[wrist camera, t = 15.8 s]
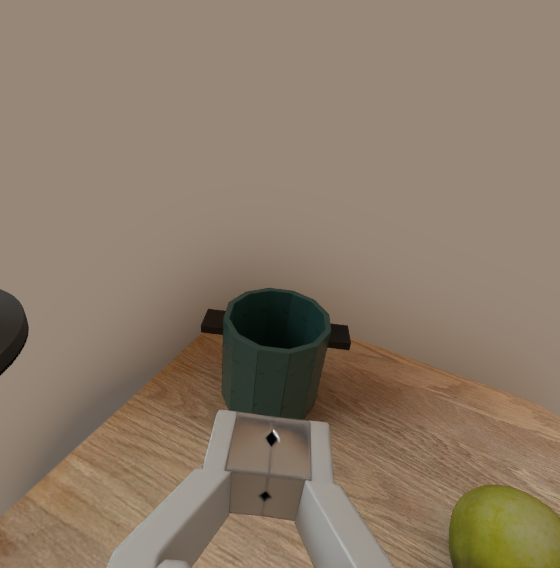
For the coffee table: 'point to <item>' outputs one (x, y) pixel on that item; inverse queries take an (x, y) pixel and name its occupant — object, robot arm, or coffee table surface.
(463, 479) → the coffee table surface
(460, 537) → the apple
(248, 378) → the pot
